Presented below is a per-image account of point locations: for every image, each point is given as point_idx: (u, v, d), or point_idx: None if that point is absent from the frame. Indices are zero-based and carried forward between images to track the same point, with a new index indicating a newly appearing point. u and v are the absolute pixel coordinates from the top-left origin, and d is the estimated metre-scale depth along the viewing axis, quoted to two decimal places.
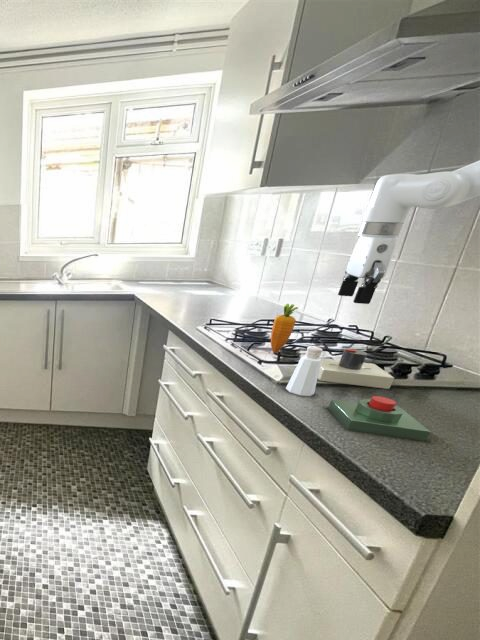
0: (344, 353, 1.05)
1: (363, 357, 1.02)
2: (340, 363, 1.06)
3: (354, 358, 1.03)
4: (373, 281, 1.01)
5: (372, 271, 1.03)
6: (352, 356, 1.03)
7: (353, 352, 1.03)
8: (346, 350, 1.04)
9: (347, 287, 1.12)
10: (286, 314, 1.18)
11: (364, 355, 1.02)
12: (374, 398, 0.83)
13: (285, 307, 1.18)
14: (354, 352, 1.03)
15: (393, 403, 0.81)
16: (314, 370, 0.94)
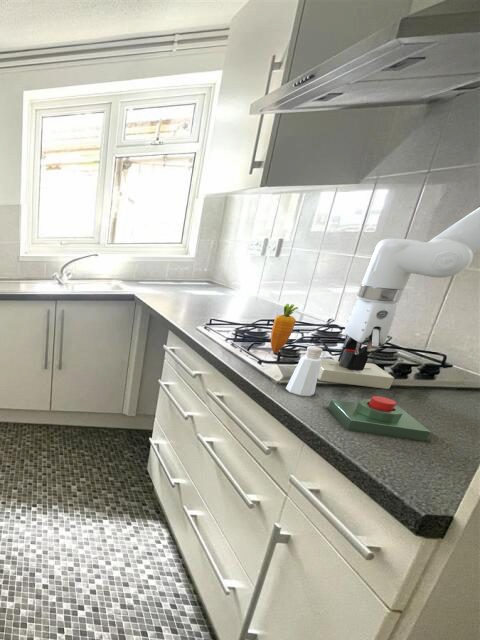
0: (344, 353, 1.05)
1: None
2: (340, 363, 1.06)
3: None
4: (366, 350, 0.99)
5: None
6: None
7: (353, 352, 1.03)
8: (346, 350, 1.04)
9: None
10: (286, 314, 1.18)
11: None
12: (374, 398, 0.83)
13: (285, 307, 1.18)
14: (354, 352, 1.03)
15: (393, 403, 0.81)
16: (314, 370, 0.94)
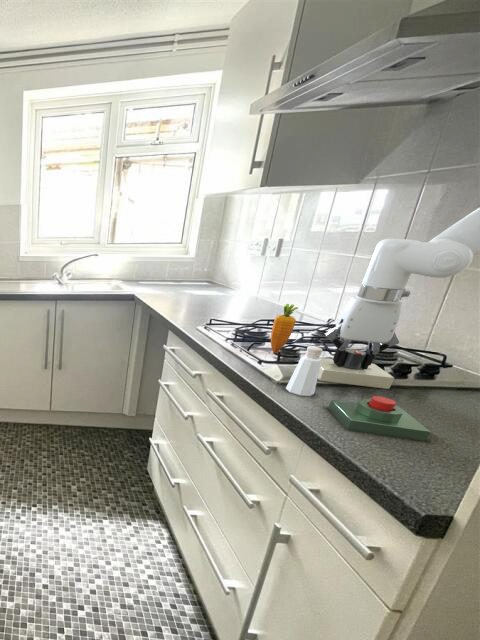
0: (359, 357, 1.02)
1: None
2: (355, 367, 1.03)
3: (365, 357, 1.03)
4: None
5: None
6: None
7: (362, 353, 1.03)
8: (360, 354, 1.02)
9: None
10: (286, 314, 1.18)
11: None
12: (374, 398, 0.83)
13: (285, 307, 1.18)
14: (361, 352, 1.03)
15: (393, 403, 0.81)
16: (314, 370, 0.94)
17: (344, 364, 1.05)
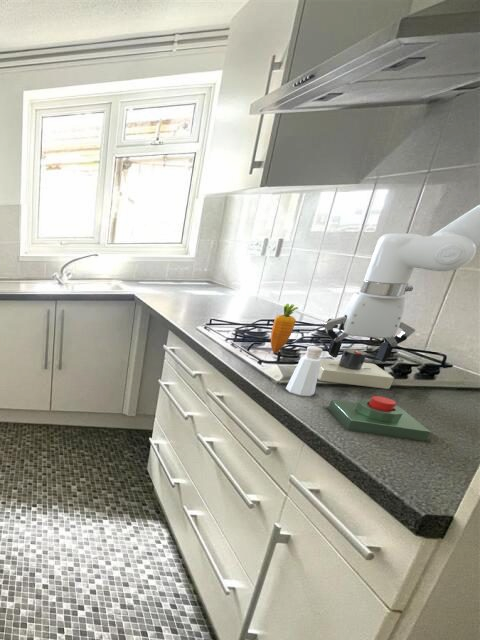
0: (359, 357, 1.02)
1: None
2: (355, 367, 1.03)
3: (365, 357, 1.03)
4: None
5: None
6: None
7: (362, 353, 1.03)
8: (360, 354, 1.02)
9: None
10: (286, 314, 1.18)
11: None
12: (374, 398, 0.83)
13: (285, 307, 1.18)
14: (361, 352, 1.03)
15: (393, 403, 0.81)
16: (314, 370, 0.94)
17: (344, 364, 1.05)
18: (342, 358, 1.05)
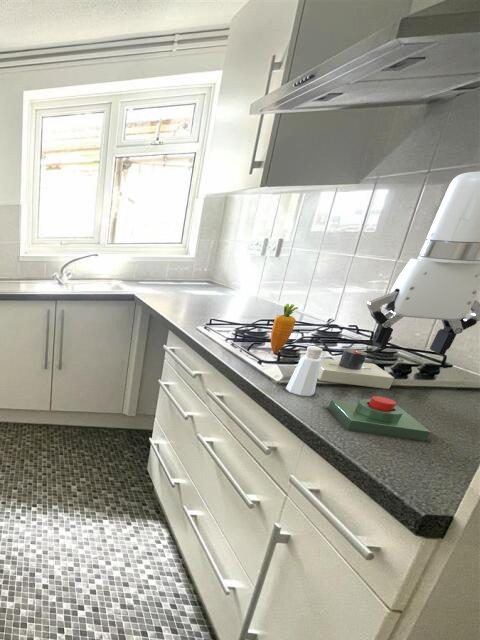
0: (359, 357, 1.02)
1: None
2: (355, 367, 1.03)
3: (365, 357, 1.03)
4: None
5: None
6: None
7: (362, 353, 1.03)
8: (360, 354, 1.02)
9: None
10: (286, 314, 1.18)
11: None
12: (374, 398, 0.83)
13: (285, 307, 1.18)
14: (361, 352, 1.03)
15: (393, 403, 0.81)
16: (314, 370, 0.94)
17: (344, 364, 1.05)
18: (342, 358, 1.05)
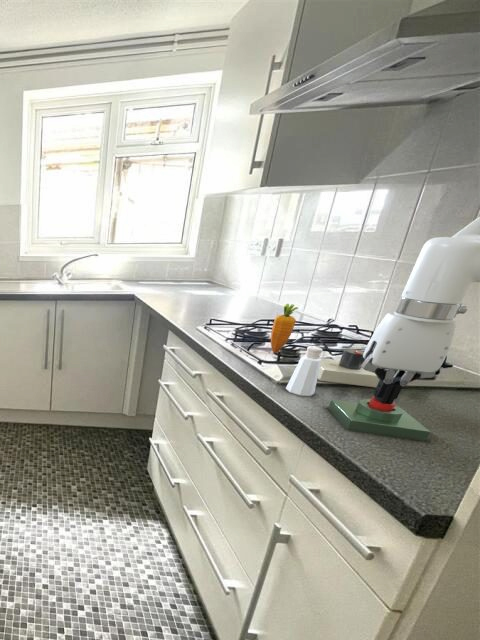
0: (359, 357, 1.02)
1: None
2: (355, 367, 1.03)
3: None
4: None
5: None
6: None
7: (362, 353, 1.03)
8: (360, 354, 1.02)
9: None
10: (286, 314, 1.18)
11: None
12: (374, 399, 0.83)
13: (285, 307, 1.18)
14: (361, 352, 1.03)
15: (393, 404, 0.81)
16: (314, 370, 0.94)
17: (344, 364, 1.05)
18: (342, 358, 1.05)
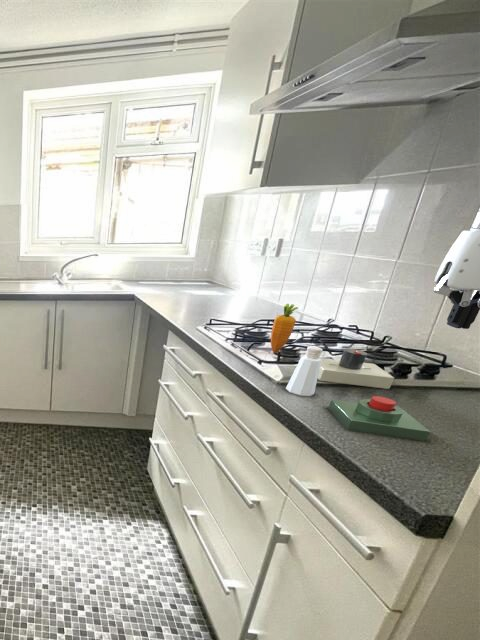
0: (359, 357, 1.02)
1: None
2: (355, 367, 1.03)
3: (365, 357, 1.03)
4: None
5: None
6: None
7: (362, 353, 1.03)
8: (360, 354, 1.02)
9: None
10: (286, 314, 1.18)
11: None
12: (374, 398, 0.83)
13: (285, 307, 1.18)
14: (361, 352, 1.03)
15: (393, 403, 0.81)
16: (314, 370, 0.94)
17: (344, 364, 1.05)
18: (342, 358, 1.05)
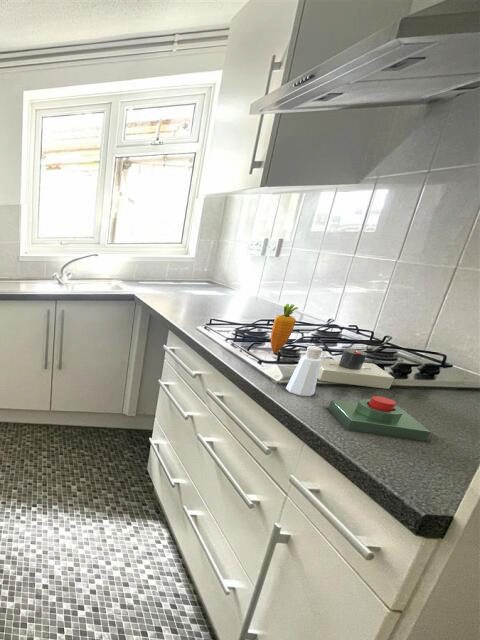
0: (359, 357, 1.02)
1: None
2: (355, 367, 1.03)
3: (365, 357, 1.03)
4: None
5: None
6: None
7: (362, 353, 1.03)
8: (360, 354, 1.02)
9: None
10: (286, 314, 1.18)
11: None
12: (374, 398, 0.83)
13: (285, 307, 1.18)
14: (361, 352, 1.03)
15: (393, 403, 0.81)
16: (314, 370, 0.94)
17: (344, 364, 1.05)
18: (342, 358, 1.05)
